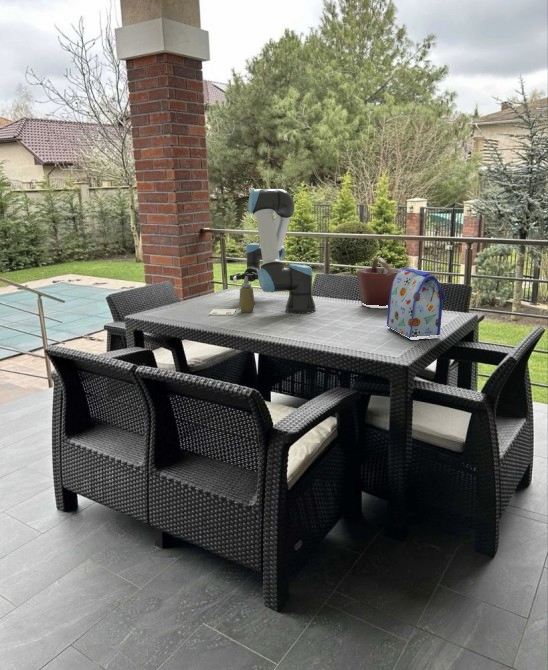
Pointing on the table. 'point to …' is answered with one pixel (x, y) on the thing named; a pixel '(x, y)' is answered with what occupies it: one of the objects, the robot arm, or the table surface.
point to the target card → (222, 312)
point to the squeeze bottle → (246, 297)
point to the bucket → (376, 283)
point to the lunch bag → (415, 304)
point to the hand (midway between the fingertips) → (246, 280)
